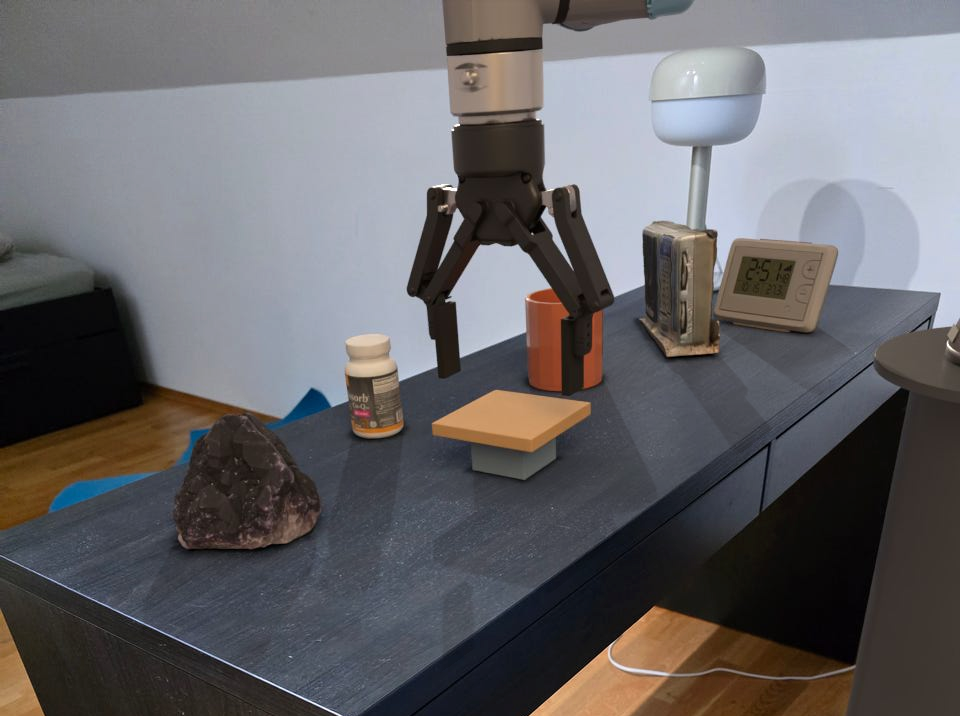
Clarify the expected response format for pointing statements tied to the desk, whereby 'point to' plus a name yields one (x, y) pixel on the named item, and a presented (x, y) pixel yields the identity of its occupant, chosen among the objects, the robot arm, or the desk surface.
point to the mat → (512, 420)
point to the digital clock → (775, 284)
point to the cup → (556, 342)
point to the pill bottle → (373, 387)
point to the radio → (680, 288)
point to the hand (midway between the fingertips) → (508, 383)
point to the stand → (511, 459)
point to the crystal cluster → (243, 489)
